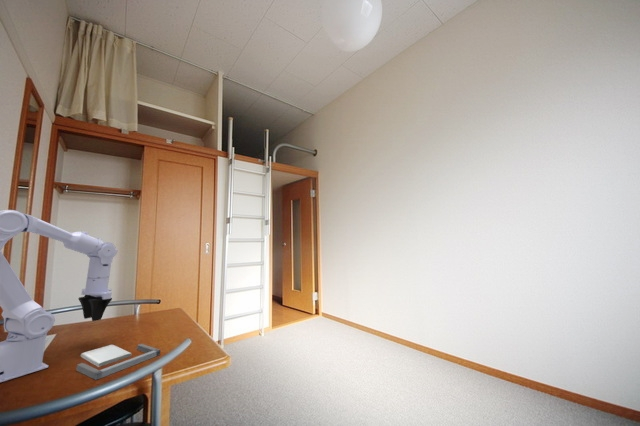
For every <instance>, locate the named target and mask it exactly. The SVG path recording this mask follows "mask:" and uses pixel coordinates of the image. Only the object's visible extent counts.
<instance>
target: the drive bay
mask: <svg viewBox="0 0 640 426" xmlns="http://www.w3.org/2000/svg"><path fill="white" fill-rule="evenodd" d="M136 350H137V351H140V352H143V354H140V355H137V356H134V357H132V358H128V359H127V360H124V361H121V362H118V363H116V364H113V365H111V366H107V367H105V368H102V369H97V368H95V367H93V366H91V365H89V364H87V363H84V362H81V363H78V364H76V371H77V372H78V373H80V374H83V375H84V376H86V377H89V378H91V379H93V380H95V381H96V380H99V379H102V378H104V377H108V376H111V375H113V374H116V373H118V372H120V371H123V370H125V369H128V368H130V367H133V366H136V365H138V364H141V363H144V362H146V361H148V360H150V359H154V358H156V357H158V356H160V355H161V349H159V348H156V347H153V346H149V345H147V344H144V343H139V344H137V345H136Z"/></svg>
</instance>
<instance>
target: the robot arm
mask: <svg viewBox="0 0 640 426" xmlns="http://www.w3.org/2000/svg"><path fill="white" fill-rule="evenodd" d="M20 233H33V234H35V235H39V236H43V237H45V238H47V239H48V238H50V239H52V240H55V241H57V242H62V243H63V246H64V247H65V248H66V249H68V250H71V251H74V252H77V253H79V254H83V255H86V256H87V257H88V258H89V261H88V268H87V275H86V276H87V277H86V282H85V287H84V288H81V294H80V295H82V296H81V297H78V301H79V303H80V305H81V309H82V315H83V318H84V320H87V319H90V318H91V320H92V322H95V321H100V320H102V317H103V315H104V313H105V310H106V308H107V307H108V306H109V304H110V303H111V302H112V300H113V297H112V288H109V282H110V275H111V274H110V273H111V267H112V263H113V259H114V258H115V256H116V255H117V253H118V250H117V249H116V246H115V245H114V243H113V242H108V241H107V242H104V241H103V239H102V238H99V237H98V238H97V237H93V236H91V235H89V232H87V231H75V232H74V231H73V232H70V231H68V230H65V229H63V228H61V227H58V226H56V225H54V224H51V223H49V222H46V221H44V220H42V219H40V218H38V217H35V216H33V215H30V214H26V213H22V212H20V211H18V210H15V209H14V210H13V209H4V210H0V308H1V309H2V312H1V317H2V318H3V329H4V331H6V332H7V333H8V334H7V336H6V339H5V340H3V341H0V383H2V382H3V383H4V382H7V381H9V380H13V379H16V378H19V377H23V376H25V375H28V374H32V373H34V372H38V371H41V370H45V369H47V368H49V364H46V362H43V360H44V359H43V358H44V354H45V347H46V342H47V337H48V335H47V334H48V332H49V331H50V330H51V329H52V328H53V327H54V325H55V322H56V319H55V315H53V314H52V313H50V312H48V311H46V310H45V309H44V307H43V306H42V305H40V304H39V303H37V301H34V300H33V298H32V297H31V295H30V293H29V292H28V291H27V289H26V287H25V286H24V284H23V283H22V282H21V280H20V279H19V277H18V275H17V273H16V272H15V270H14V269H13V268H12V266H11V264H10V263H9V262H8V259H7V258H6V257H5V255H4V254H3V252H2V249H3V247H4V246H5V245H6V244H7V242H9V240H11V239H13V238H14V237H16V236H17V235H18V234H20Z"/></svg>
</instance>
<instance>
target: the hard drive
mask: <svg viewBox="0 0 640 426" xmlns="http://www.w3.org/2000/svg"><path fill="white" fill-rule="evenodd" d="M80 357H81V358H82V359H83V360H86V361H87V362H89V363H91V364H92V365H94V366H96V367H97V368H100V367H104V366H107V365H110V364H114V363H115V362H119V361H122V360H124V359H127V358H128V359H129V358H130V357H133V356H132V352H129V351H127V350H125V349H123V348H121V347H119V346H117V345H114V344H109V345H106V346H102V347H99V348H95V349H92V350H88V351H85V352H81V354H80Z"/></svg>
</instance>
